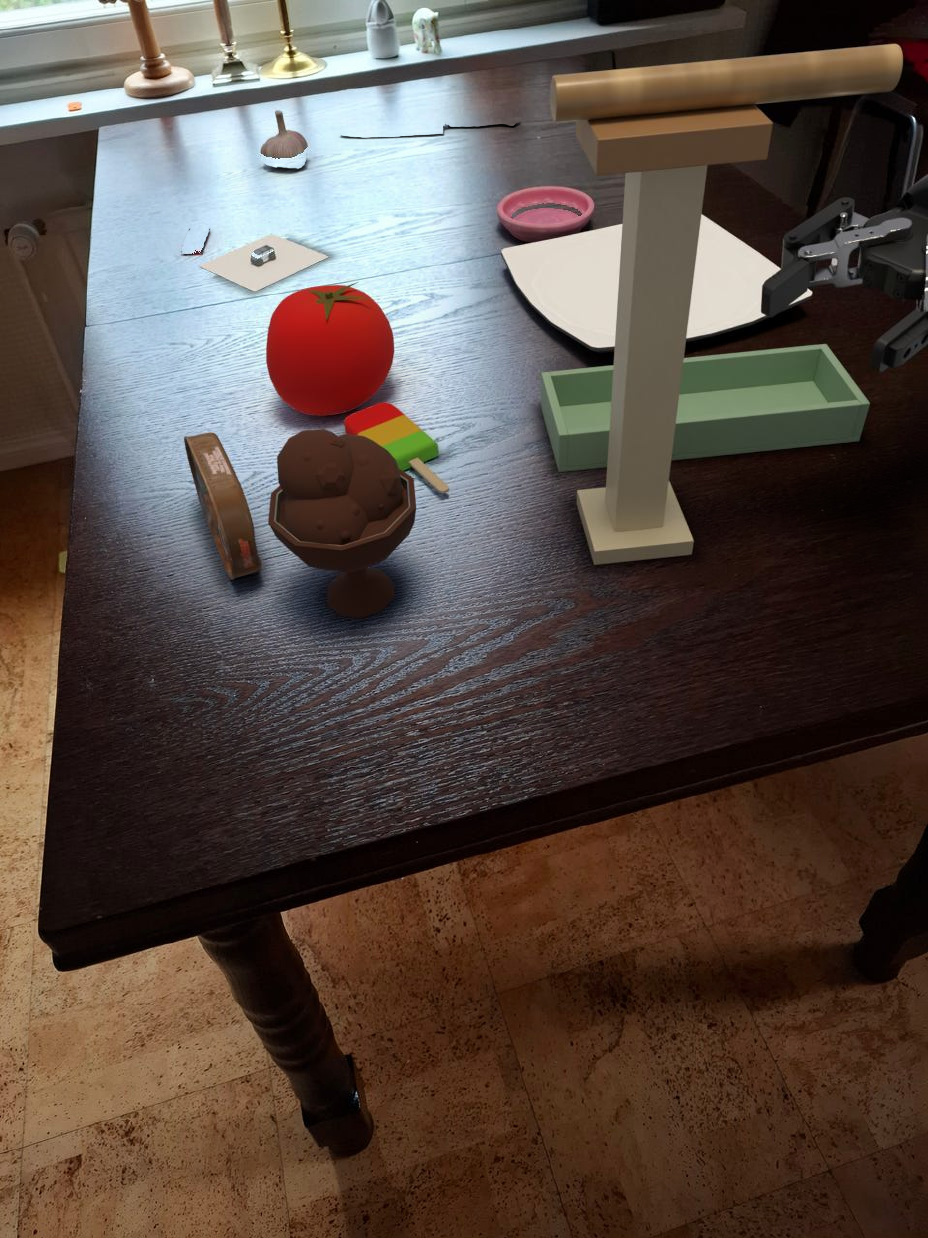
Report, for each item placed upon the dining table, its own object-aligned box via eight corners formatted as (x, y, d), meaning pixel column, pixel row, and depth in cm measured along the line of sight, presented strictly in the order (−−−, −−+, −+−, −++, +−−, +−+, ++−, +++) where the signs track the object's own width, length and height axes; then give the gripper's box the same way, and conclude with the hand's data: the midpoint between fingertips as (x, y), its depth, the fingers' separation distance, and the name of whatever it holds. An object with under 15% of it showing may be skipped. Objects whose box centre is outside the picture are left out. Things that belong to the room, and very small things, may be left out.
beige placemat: (198, 265, 118) (195, 254, 117) (271, 233, 124) (269, 222, 123) (254, 291, 112) (252, 279, 111) (329, 256, 118) (327, 244, 117)
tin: (197, 498, 83) (170, 419, 77) (231, 488, 84) (207, 409, 78) (237, 601, 74) (210, 519, 68) (275, 589, 74) (252, 507, 68)
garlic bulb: (313, 171, 139) (303, 114, 133) (265, 178, 138) (253, 120, 133) (308, 154, 144) (298, 98, 139) (262, 161, 144) (250, 105, 138)
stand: (679, 493, 80) (734, 82, 57) (704, 553, 74) (776, 125, 51) (565, 504, 80) (574, 97, 57) (581, 566, 74) (599, 142, 51)
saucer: (597, 246, 115) (598, 221, 113) (497, 251, 116) (497, 226, 113) (589, 206, 124) (590, 182, 121) (497, 211, 124) (496, 187, 122)
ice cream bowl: (348, 665, 68) (311, 506, 57) (267, 591, 74) (220, 435, 63) (456, 595, 72) (441, 435, 62) (371, 531, 79) (344, 375, 68)
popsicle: (390, 413, 91) (388, 397, 90) (472, 487, 82) (471, 470, 81) (341, 433, 89) (338, 416, 88) (420, 511, 80) (418, 494, 79)
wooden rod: (879, 84, 55) (890, 38, 53) (896, 96, 54) (907, 49, 52) (549, 115, 55) (550, 69, 53) (556, 128, 53) (556, 82, 51)
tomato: (247, 409, 93) (219, 303, 85) (343, 352, 100) (325, 248, 92) (331, 450, 87) (310, 340, 79) (427, 386, 94) (416, 279, 86)
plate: (486, 268, 112) (485, 247, 111) (693, 222, 118) (695, 201, 116) (586, 381, 93) (587, 357, 91) (827, 320, 99) (833, 296, 97)
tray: (817, 380, 91) (826, 343, 88) (859, 441, 83) (870, 403, 81) (541, 408, 90) (541, 372, 87) (558, 472, 83) (559, 435, 80)
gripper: (903, 115, 62) (732, 238, 58) (1113, 180, 54) (930, 326, 50) (885, 216, 68) (730, 333, 64) (1072, 288, 60) (906, 426, 57)
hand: (818, 330), depth 57 cm, fingers open, 8 cm apart
